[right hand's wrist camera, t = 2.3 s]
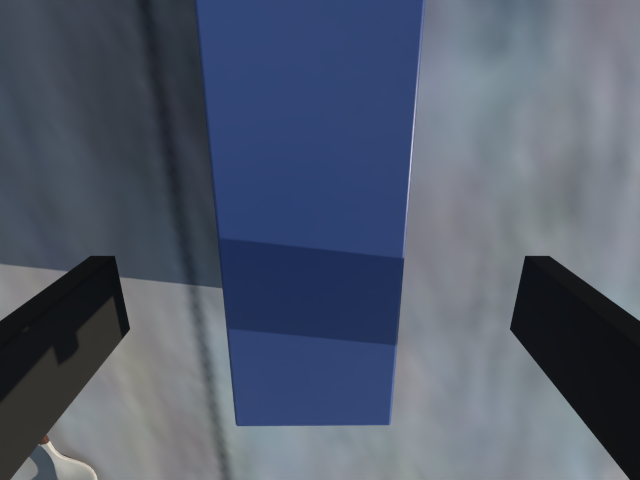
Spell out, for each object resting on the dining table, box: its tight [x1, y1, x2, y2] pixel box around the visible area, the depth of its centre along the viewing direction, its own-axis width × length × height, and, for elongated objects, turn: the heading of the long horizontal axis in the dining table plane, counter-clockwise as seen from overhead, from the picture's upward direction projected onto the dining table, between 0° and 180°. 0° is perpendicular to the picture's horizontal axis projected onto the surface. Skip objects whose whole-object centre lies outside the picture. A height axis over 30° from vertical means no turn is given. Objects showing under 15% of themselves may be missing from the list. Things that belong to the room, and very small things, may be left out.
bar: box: [194, 0, 425, 426], centre depth 12 cm, size 25×5×9 cm, turn 0°
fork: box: [39, 435, 97, 480], centre depth 23 cm, size 3×16×2 cm, turn 17°
